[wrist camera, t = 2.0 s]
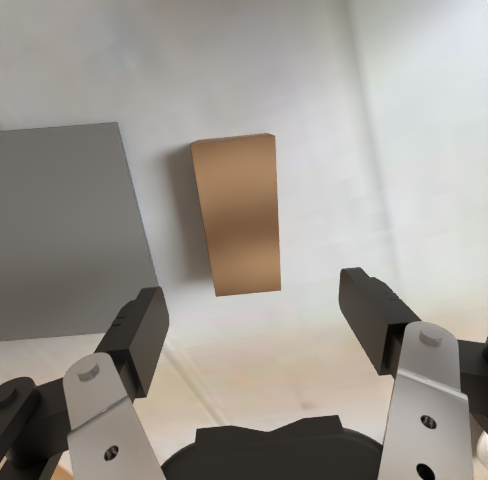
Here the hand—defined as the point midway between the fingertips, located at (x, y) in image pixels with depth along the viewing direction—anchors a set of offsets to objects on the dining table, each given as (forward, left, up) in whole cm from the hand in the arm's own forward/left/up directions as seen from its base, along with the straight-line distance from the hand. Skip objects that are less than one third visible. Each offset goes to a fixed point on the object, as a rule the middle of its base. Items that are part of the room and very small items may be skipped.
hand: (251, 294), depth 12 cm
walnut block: (-1, 0, -11) cm, 11 cm away
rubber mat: (+1, -17, -10) cm, 20 cm away
